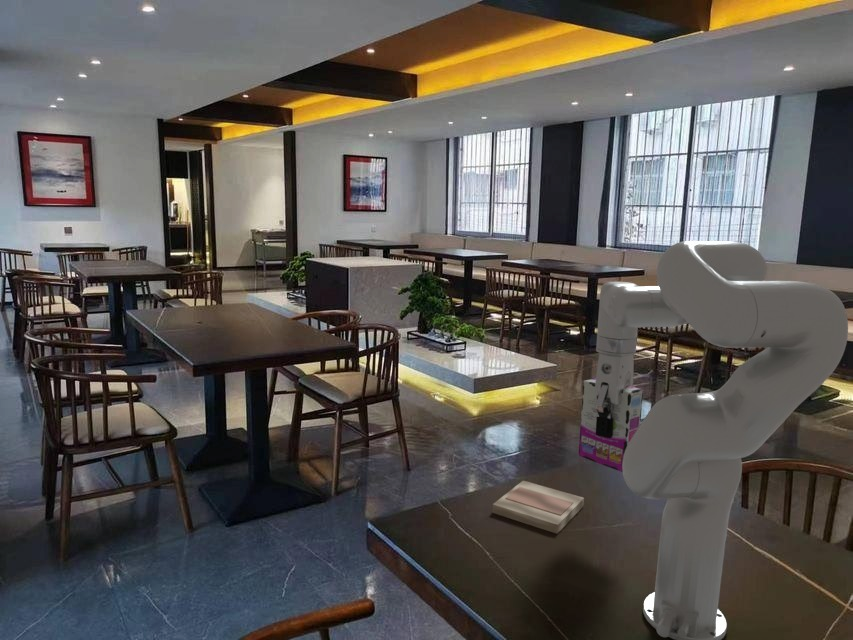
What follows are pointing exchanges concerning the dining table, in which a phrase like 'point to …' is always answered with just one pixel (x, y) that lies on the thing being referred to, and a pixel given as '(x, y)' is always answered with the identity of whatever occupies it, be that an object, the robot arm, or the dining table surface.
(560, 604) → the dining table surface
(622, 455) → the candy bar box
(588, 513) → the dining table surface
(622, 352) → the robot arm
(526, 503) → the base board
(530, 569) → the dining table surface
